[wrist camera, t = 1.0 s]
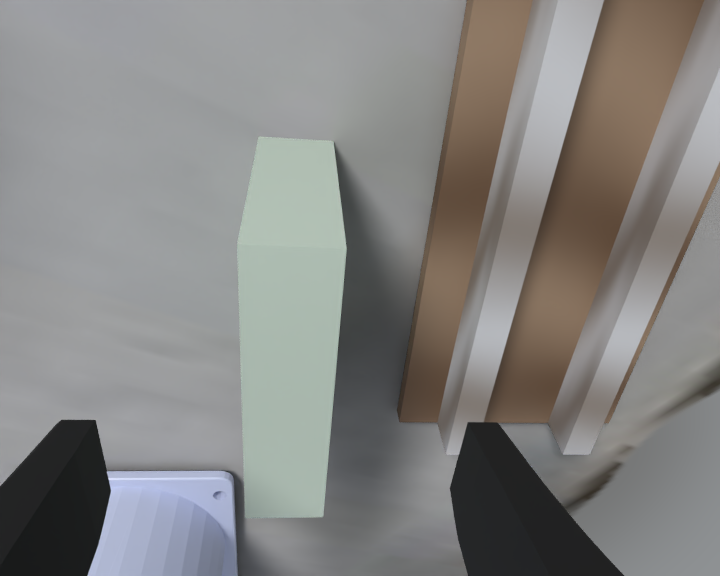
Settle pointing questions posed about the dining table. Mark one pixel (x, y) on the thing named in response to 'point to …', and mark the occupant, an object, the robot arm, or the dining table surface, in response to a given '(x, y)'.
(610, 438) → the dining table surface
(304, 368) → the door panel
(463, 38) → the door track
